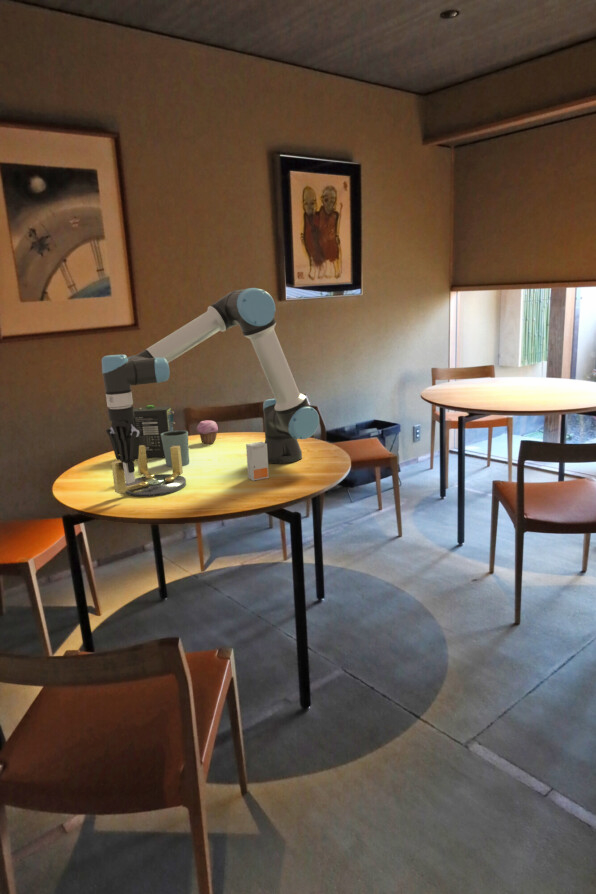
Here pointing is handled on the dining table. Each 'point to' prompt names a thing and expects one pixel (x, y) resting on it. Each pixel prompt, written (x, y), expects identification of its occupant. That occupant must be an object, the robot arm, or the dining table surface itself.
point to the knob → (143, 463)
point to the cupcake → (207, 431)
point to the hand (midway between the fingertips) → (130, 482)
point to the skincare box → (257, 461)
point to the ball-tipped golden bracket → (123, 479)
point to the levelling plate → (157, 486)
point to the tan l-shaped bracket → (175, 463)
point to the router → (153, 428)
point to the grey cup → (175, 440)
